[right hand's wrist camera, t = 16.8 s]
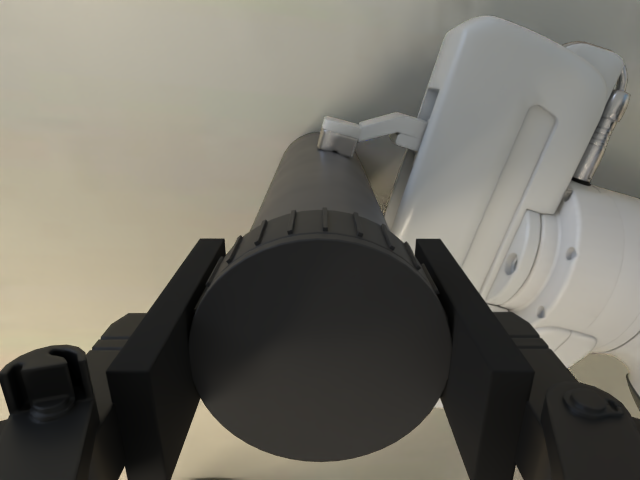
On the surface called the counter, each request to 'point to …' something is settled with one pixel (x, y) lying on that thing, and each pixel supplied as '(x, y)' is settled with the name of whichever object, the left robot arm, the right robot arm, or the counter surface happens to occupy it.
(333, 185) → the dark gray cylinder
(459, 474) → the counter surface
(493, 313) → the right robot arm
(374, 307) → the lid
